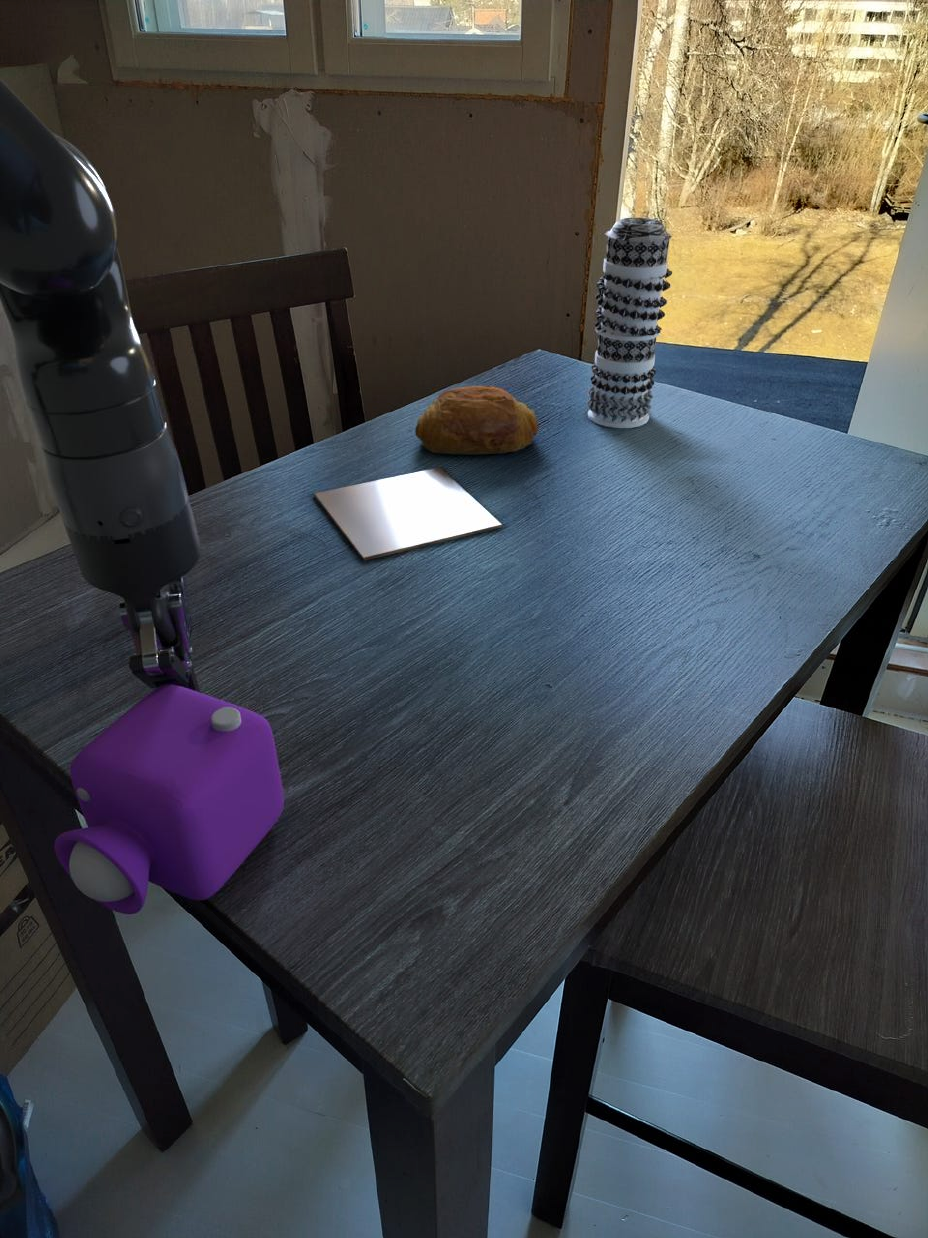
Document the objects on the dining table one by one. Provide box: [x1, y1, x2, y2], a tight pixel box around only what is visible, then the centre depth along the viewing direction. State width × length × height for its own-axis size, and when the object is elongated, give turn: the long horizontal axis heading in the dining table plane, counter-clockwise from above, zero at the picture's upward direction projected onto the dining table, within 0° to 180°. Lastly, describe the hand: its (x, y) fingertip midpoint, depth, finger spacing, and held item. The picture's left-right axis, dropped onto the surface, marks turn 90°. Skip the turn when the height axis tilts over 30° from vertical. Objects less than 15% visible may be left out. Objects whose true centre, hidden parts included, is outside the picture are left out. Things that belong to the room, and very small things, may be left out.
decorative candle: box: [587, 217, 673, 429], centre depth 111 cm, size 9×9×25 cm
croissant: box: [414, 384, 539, 455], centre depth 110 cm, size 14×16×8 cm
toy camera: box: [54, 684, 285, 915], centre depth 53 cm, size 11×14×10 cm
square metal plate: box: [313, 466, 503, 562], centre depth 95 cm, size 16×16×1 cm
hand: (186, 705), depth 63 cm, fingers closed
